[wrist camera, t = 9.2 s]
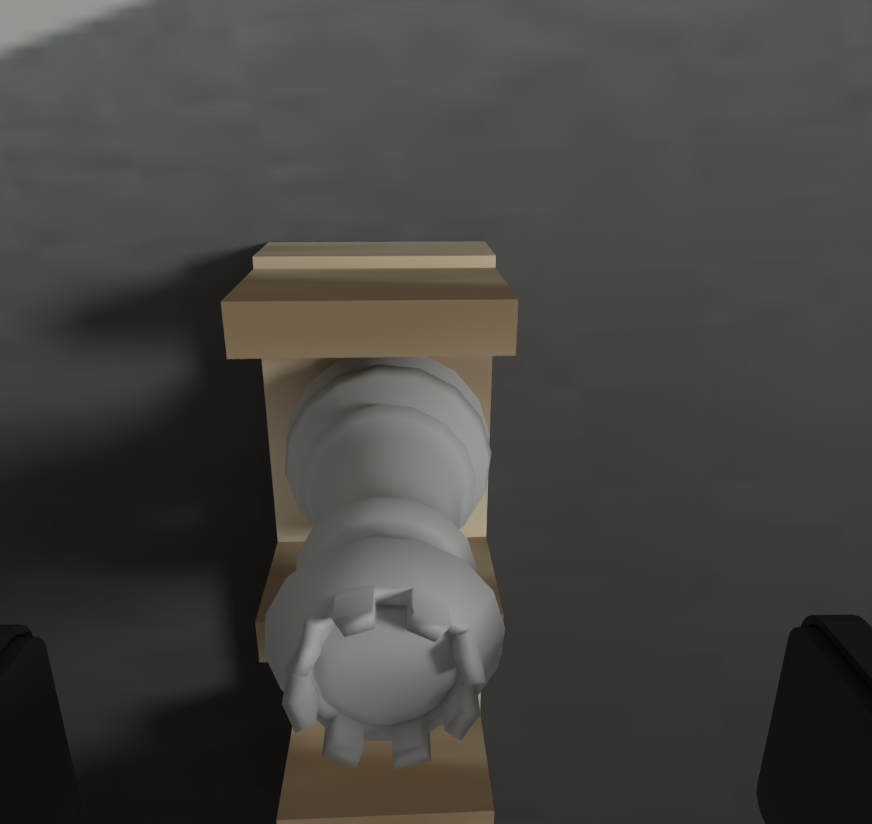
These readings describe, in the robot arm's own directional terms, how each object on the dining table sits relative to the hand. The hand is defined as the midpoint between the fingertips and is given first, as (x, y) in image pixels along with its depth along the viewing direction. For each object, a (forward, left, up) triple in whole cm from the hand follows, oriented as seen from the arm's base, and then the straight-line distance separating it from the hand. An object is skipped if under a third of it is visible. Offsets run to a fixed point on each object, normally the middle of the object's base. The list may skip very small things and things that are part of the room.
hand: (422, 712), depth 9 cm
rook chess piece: (0, 0, -8) cm, 8 cm away
